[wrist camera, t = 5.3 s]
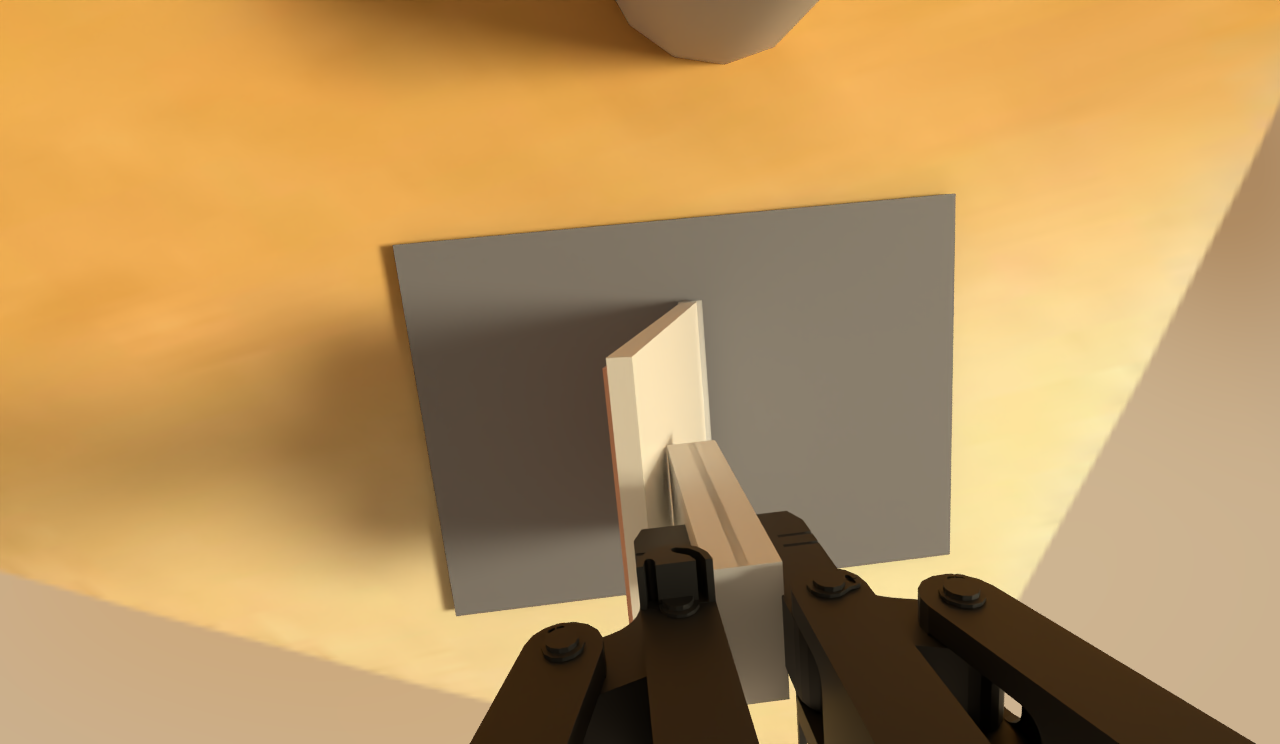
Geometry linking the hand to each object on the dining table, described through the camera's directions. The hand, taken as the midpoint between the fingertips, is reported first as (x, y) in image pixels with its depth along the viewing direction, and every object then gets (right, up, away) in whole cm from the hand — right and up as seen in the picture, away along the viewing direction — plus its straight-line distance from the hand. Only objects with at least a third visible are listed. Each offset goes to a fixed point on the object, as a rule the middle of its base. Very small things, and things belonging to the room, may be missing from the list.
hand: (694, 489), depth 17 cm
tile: (0, 0, +3) cm, 3 cm away
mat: (+1, +2, +8) cm, 8 cm away
